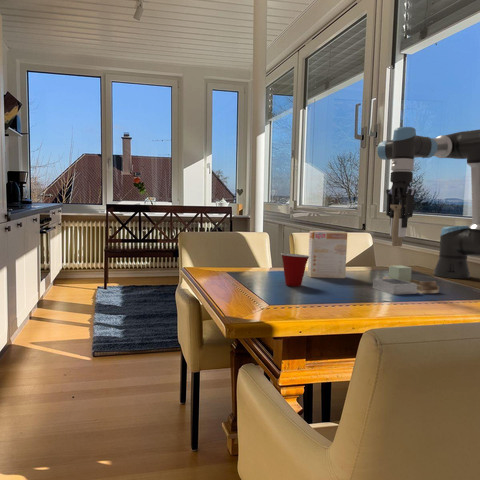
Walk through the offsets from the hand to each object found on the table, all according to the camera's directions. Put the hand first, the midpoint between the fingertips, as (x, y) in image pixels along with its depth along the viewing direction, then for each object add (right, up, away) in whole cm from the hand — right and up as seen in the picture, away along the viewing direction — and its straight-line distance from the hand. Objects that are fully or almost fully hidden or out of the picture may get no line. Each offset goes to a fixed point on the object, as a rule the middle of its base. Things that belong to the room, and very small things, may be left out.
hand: (397, 236), depth 163 cm
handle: (0, -4, 0) cm, 4 cm away
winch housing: (-1, -20, +2) cm, 20 cm away
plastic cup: (-37, -19, +6) cm, 42 cm away
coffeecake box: (-21, -17, +29) cm, 39 cm away
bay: (+8, -20, +10) cm, 23 cm away
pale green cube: (+6, -18, +15) cm, 25 cm away
